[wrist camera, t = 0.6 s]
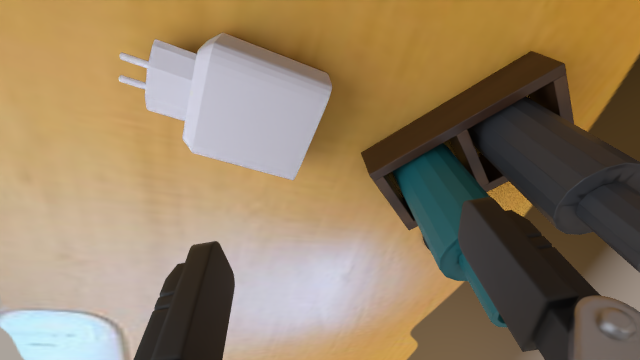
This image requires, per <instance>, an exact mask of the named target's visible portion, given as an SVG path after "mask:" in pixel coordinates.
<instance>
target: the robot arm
mask: <svg viewBox="0 0 640 360" xmlns="http://www.w3.org/2000/svg"><path fill="white" fill-rule="evenodd" d="M458 241H459V246H460V249H461V251H462V253H463V255H464V256H465V258H466V260H467V261H468V263H469V265H470V266H471V268H472V269H473V271H474V273H475V274H476V276H477V278H478V279H479V281H480V283H481V284H482V286H483V287H484V289H485V291H486V292H487V294H488V296H489V297H490V299H491V301H492V302H493V304H494V306H495V307H496V309H497V310H498V312H499V314H500V315H501V317H502V319H503V320H504V322H505V324H506V325H507V327H508V329H509V330H510V332H511V333H512V335H513V337H514V338H515V340H516V342H517V343H518V345H519V347H520V348H521V350H522V351H523V352H524V351H531V350H537V349H538V350H539V351H540V353H541V354H542V356H543V357H544V359H545V360H640V312H639V311H637V310H636V309H634V308H633V307H631V306H629V305H627V304H625V303H623V302H621V301H619V300H616V299H613V298H609V297H605V296H601V295H600V294H599V293H598V292H597V291H595V289H594V288H593V287H592V286H591V285H590V284H589V283H588V282H587V281H586V280H585V279H584V278H583V277H582V276H581V275H580V274H579V273H578V272H577V270H576V269H574V267H573V266H572V265H571V264H570V263H569V262H568V261H567V260H566V259H565V258H564V257H563V256H562V255H561V254H560V253H559V252H558V251H557V249H555V247H552V244H551V243H550V242H549V241H548V240H547V239H546V238H545V237H544V236H542V235H541V233H540V232H539V231H538V230H537V228H536V227H535V226H534V225H533V224H532V223H531V222H530V221H529V220H527V219H525V218H524V217H522V216H521V215H519V214H517V213H515V212H514V211H512V210H508V211H504V210H503V209H502V208H501V206H500V205H499V204H498V203H497V202H496V201H495V200H494V199H493V198H491V197H485V198H479V199H473V200H467V201H464V203H463V206H462V212H461V218H460V225H459V231H458ZM234 287H235V281H234V274H233V271H232V269H231V267H230V264H229V262H228V260H227V258H226V256H225V254H224V252H223V250H222V248H221V246H220V244H219V243H218V242H217V241H214V242H208V243H202V244H196V245H193V246H192V247H191V248H190V250H189V253H188V256H187V259H186V262H185V263H181V264H177V266H176V267H175V268H174V269H173V271H172V272H171V273H170V274H169V276H168V277H167V278H166V280H165V282H164V285H163V287H162V290H161V292H160V298H158V300H157V302H156V305H155V307H154V308H155V311H153V312H152V315H151V317H150V320H149V322H148V325H147V327H146V330H145V332H144V335H143V337H142V340H141V342H140V345H139V347H138V350H137V353H136V355H135V358H134V360H222V358H223V352H224V346H225V341H226V335H227V329H228V323H229V317H230V312H231V306H232V300H233V294H234Z"/></svg>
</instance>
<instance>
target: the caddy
mask: <svg viewBox="0 0 640 360" xmlns="http://www.w3.org/2000/svg"><path fill="white" fill-rule="evenodd" d="M529 94H530V97H531V100H533V101H534V102H536V103H538V104H540V105H541V106H543V107H545V108H547V109H548V110H550V111H552V112H553V113H555V114H557V115H559V116H560V117H562V118H564V119H566V120H567V121H569V122H571V123H573V124H574V120H573V114H572V108H571V101H570V95H569V89H568V83H567V76H566V69H565V64H564V63H562V62H559V61H557V60H554V59H551V58H549V57H546V56H543V55H541V54H538V53H535V52H533V51H531V52H529V53H528V54H526V55H524V56H523V57H521V58H519V59H518V60H516V61H514V62H513V63H511V64H509V65H508V66H506V67H504V68H503V69H501V70H499V71H497V72H496V73H494V74H492V75H491V76H489V77H487V78H486V79H484V80H482V81H481V82H479V83H477V84H476V85H474V86H472V87H471V88H469V89H467V90H466V91H464V92H462V93H461V94H459V95H457V96H456V97H454V98H452V99H451V100H449V101H447V102H446V103H444V104H442V105H441V106H439V107H437V108H436V109H434V110H432V111H431V112H429V113H427V114H426V115H424V116H422V117H420V118H419V119H417V120H415V121H414V122H412V123H410V124H409V125H407V126H405V127H404V128H402V129H400V130H399V131H397V132H395V133H394V134H392V135H390V136H389V137H387V138H385V139H384V140H382V141H380V142H379V143H377V144H375V145H374V146H372V147H370V148H369V149H367V150H365V151H364V152H362V153H361V154H362V157H363V160H364V162H365V165H366V168H367V170H368V173H369V175H370V177H371V178H372V179H373V181H374V182H375V184H376V185H377V186H378V188H379V189H380V191H381V192H382V193H383V195H384V196H385V198H386V199H387V200H388V202H389V203H390V205H391V206H392V207H393V209H394V210H395V212H396V213H397V214H398V216H399V217H400V219H401V220H402V221H403V223H404V224H405V226H406V227H407V228H408V230H411V229H413V228H415V227H417V226H418V224H417V222H416V220H415V218H414V216H413V214H412V212H411V210H410V208H409V206H408V204H407V202H406V200H405V198H404V197H402V196H401V195H400V193H399V192H398V190H397V189H396V187H395V186H394V184H393V183H392V181H391V180H390V178H389V177H388V175H387V174H388V173H390V172H392V171H394V170H395V169H397V168H399V167H401V166H403V165H404V164H406V163H408V162H410V161H412V160H413V159H415V158H417V157H419V156H420V155H422V154H424V153H426V152H428V151H429V150H431V149H433V148H435V147H436V146H438V145H440V144H442V143H444V142H445V141H447V140H449V141H450V143H451V145H452V147H453V149H454V151H455V153H456V156H457V158H458V160H459V161H460V162H461V164H462V165H463V166H464V167H465V168H466V169H467V171H468V172H469V173H470V174H471V175H472V176H473V178H474V179H475V180H476V181H477V182H478V183H479V185H480V186H481V187H482V188H483V189H484V190H485V192H488V191H490V190H492V189H494V188H496V187H498V186H500V185H502V184H504V183H506V182H508V181H509V180H508V179H507V178H506V177H505V176H504V175H503V174H502V173H501V172H500V171H499V170H498V169H497V168H496V167H495V166H494V165H493V164H492V163H491V162H490V161H489V160H488V159H487V158H486V157H485V156H484V155H482V156H480V157H478V154H477V152H476V150H475V147H474V145H473V142H472V140H471V137H470V135H469V132H468V130H467V129H469V128H470V127H472V126H474V125H476V124H477V123H479V122H481V121H483V120H485V119H486V118H488V117H490V116H492V115H493V114H495V113H497V112H499V111H501V110H502V109H504V108H506V107H508V106H510V105H511V104H513V103H515V102H517V101H518V100H520V99H522V98H524V97H526V96H527V95H529Z"/></svg>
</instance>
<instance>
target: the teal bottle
mask: <svg viewBox="0 0 640 360" xmlns="http://www.w3.org/2000/svg"><path fill="white" fill-rule="evenodd" d="M392 172H393V175H394V177H395V179H396V181H397V183H398V185H399V188H400V190H401V192H402V194H403V196H404V198H405V200H406V202H407V204H408V206H409V208H410V210H411V212H412V214H413V216H414V218H415V220H416V222H417V224H418V226H419V228H420V230H421V232H422V234H423V236H424V238H425V240H426V242H427V244H428V247H429V249H430V251H431V253H432V255H433V257H434V259H435V261H436V263H437V265H438V267H439V269H440V270H441V271H442V273H443V274H444V275H445V276H446V277H448V278H451V279H453V280H457V281H469V283H470V285H471V287H472V288H473V290H474V292H475V294H476V295H477V297H478V299H479V301H480V302H481V304H482V306H483V308H484V310H485V312H486V313H487V315H488V316H489V319H490V320H491V322H492V323H493V324H495V325H496V326H498V327H507V325H506V324H505V322H504V320H503V319H502V317H501V315H500V314H499V312H498V310H497V309H496V307H495V306H494V304H493V302H492V301H491V299H490V297H489V296H488V294H487V292H486V291H485V289H484V287H483V286H482V284H481V283H480V281H479V279H478V278H477V276H476V274H475V273H474V271H473V269H472V268H471V266H470V265H469V263H468V261H467V260H466V258H465V256H464V255H463V253H462V251H461V249H460V246H459V241H458V231H459V225H460V218H461V212H462V206H463V203H464V201H467V200H473V199H479V198H485V197H490V196H489V195H488V194H487V193H486V192H485V190H484V189H483V188H482V187H481V186H480V185H479V183H478V182H477V181H476V180H475V179H474V178H473V176H472V175H471V174H470V173H469V172H468V171H467V169H466V168H465V167H464V166H463V165H462V164H461V162H460V161H459V160H458V159H457V158H456V156H455V155H454V154H453V153H452V152H451V151H450V149H449V148H448V147H447V146H446V145H445V144H444V143H442V144H440V145H438V146H436V147H435V148H433V149H431V150H429V151H428V152H426V153H424V154H422V155H420V156H419V157H417V158H415V159H413V160H412V161H410V162H408V163H406V164H404V165H403V166H401V167H399V168H397V169H395V170H394V171H392Z"/></svg>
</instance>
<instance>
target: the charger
mask: <svg viewBox="0 0 640 360" xmlns="http://www.w3.org/2000/svg"><path fill="white" fill-rule="evenodd" d="M120 59H121V60H124V61H127V62H130V63H133V64H136V65H139V66H142V67H145V68H147V77H146V83H145V82H142V81H139V80H135V79H132V78H129V77H126V76H123V75H120V76H119V81H120V82H123V83H126V84H129V85H132V86H135V87H139V88H142V89H145V101H146V107H147V109H148V110H149V111H152V112H156V113H159V114H162V115H166V116H169V117H172V118H176V119H179V120H182V121H185V125H184V131H183V140H184V142H185V143H186V145H187V146H188V147H189V149H190V150H191V151H192V153H195V154H198V155H202V156H206V157H209V158H213V159H217V160H220V161H224V162H228V163H231V164H235V165H239V166H242V167H246V168H250V169H253V170H257V171H261V172H264V173H268V174H272V175H275V176H279V177H283V178H286V179H290V180H294V178H295V177H296V175H297V173H298V171H299V168H300V166H301V164H302V161H303V159H304V157H305V154H306V152H307V150H308V147H309V145H310V143H311V140H312V138H313V136H314V133H315V131H316V129H317V126H318V124H319V122H320V119H321V117H322V115H323V112H324V110H325V108H326V105H327V102H328V100H329V97H330V94H331V90H332V84H331V81H330V78H329V75H328V73H326V72H323V71H320V70H318V69H315V68H313V67H310V66H308V65H305V64H302V63H300V62H297V61H295V60H292V59H290V58H287V57H284V56H282V55H279V54H277V53H274V52H272V51H269V50H267V49H264V48H261V47H259V46H256V45H254V44H251V43H249V42H246V41H243V40H241V39H238V38H236V37H233V36H231V35H228V34H225V33H221V34H219V35H217V36H215V37H213V38H211V39H209V40H207V41H206V43H205V44H204V45H203V46H202V47H201V48H200V49H199V50H198V52H197V54H195V53H193V52H190V51H187V50H184V49H182V48H179V47H176V46H173V45H170V44H168V43H165V42H162V41H159V40H157V39H155V40H154V43H153V45H152V49H151V53H150V58H149V61H146V60H143V59H140V58H137V57H134V56H131V55H128V54H125V53H121V54H120Z"/></svg>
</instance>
